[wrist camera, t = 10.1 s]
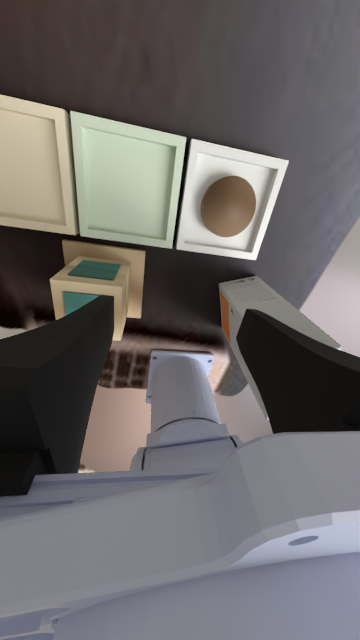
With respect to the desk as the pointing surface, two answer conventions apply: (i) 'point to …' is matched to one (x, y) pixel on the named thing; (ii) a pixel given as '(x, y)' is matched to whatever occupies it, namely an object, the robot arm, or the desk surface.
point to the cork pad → (117, 254)
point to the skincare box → (270, 302)
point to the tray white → (207, 168)
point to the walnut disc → (228, 206)
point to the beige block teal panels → (92, 287)
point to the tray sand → (37, 167)
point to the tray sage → (126, 180)
